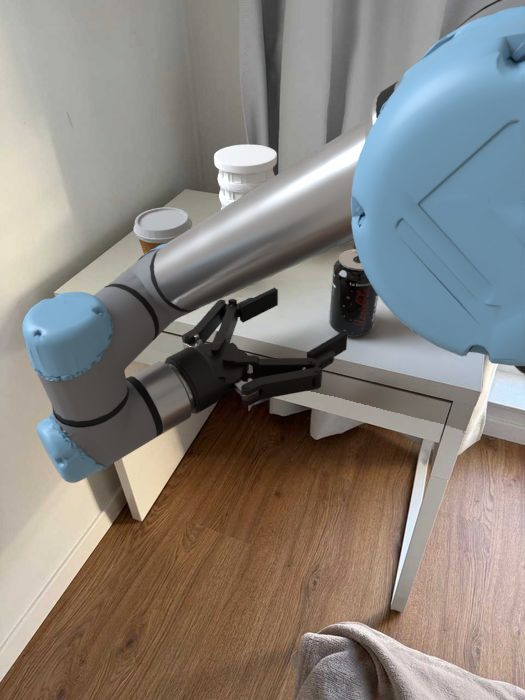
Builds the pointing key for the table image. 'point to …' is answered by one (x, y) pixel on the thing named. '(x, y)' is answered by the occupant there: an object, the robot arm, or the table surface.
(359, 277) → the beverage can
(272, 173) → the decorative container
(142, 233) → the disposable coffee cup
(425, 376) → the table surface
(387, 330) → the table surface
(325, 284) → the table surface
